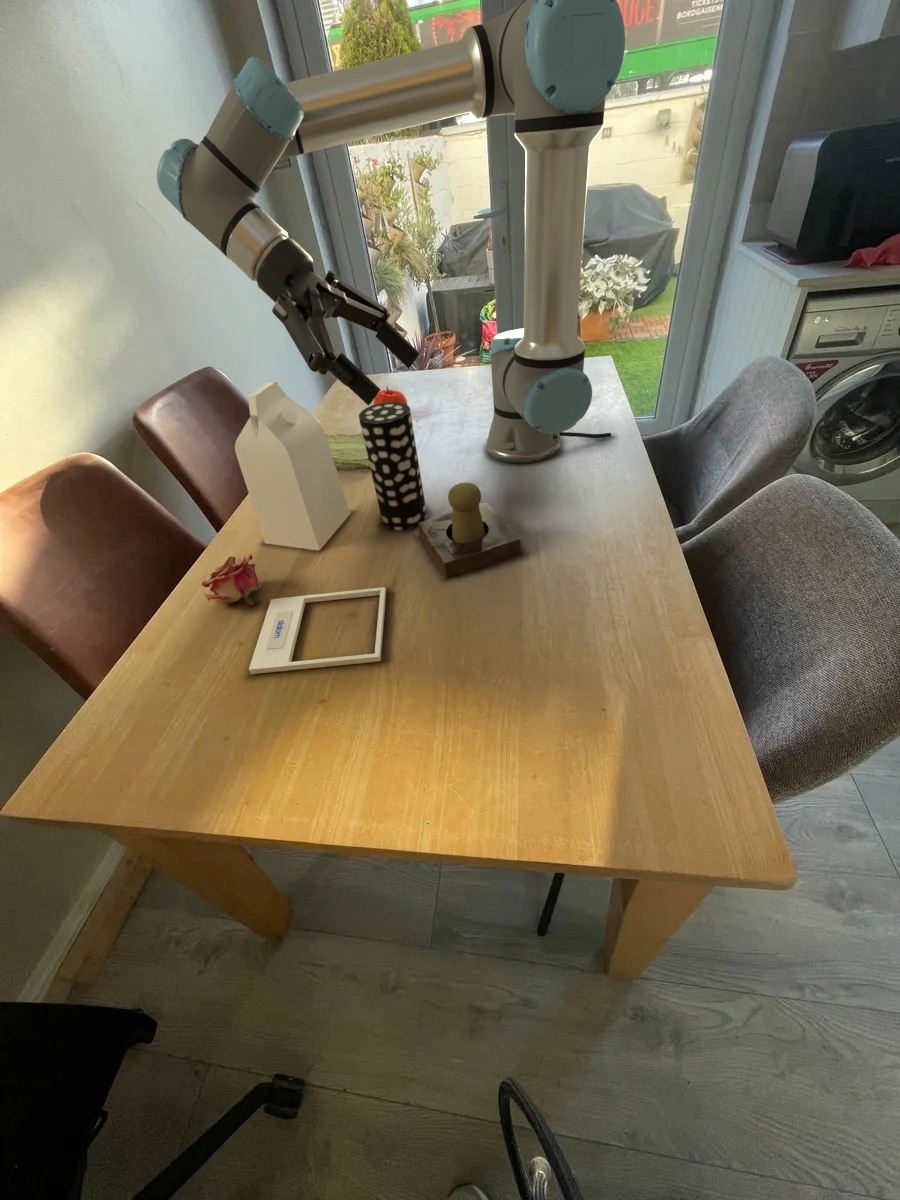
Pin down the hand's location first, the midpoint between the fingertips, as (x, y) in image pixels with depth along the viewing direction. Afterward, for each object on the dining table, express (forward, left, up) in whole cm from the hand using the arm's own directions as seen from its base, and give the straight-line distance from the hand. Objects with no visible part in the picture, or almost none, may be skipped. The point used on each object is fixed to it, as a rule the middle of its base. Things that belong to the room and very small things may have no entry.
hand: (395, 378), depth 77 cm
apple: (-10, -53, -28) cm, 60 cm away
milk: (+18, -15, -28) cm, 36 cm away
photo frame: (+21, +14, -28) cm, 37 cm away
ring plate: (-6, +5, -28) cm, 29 cm away
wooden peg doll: (-6, +5, -28) cm, 29 cm away
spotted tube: (+1, -9, -28) cm, 29 cm away
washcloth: (+5, -40, -28) cm, 49 cm away
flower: (+32, 0, -28) cm, 42 cm away
